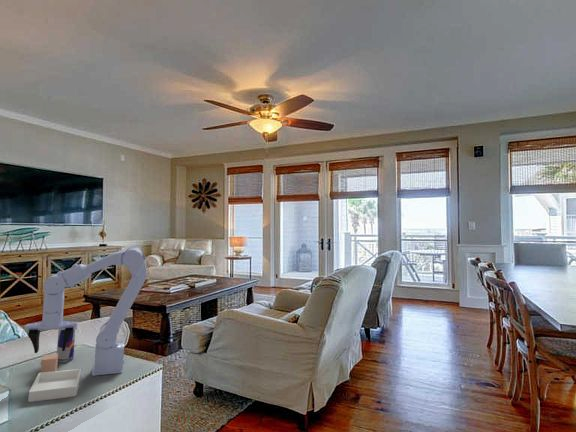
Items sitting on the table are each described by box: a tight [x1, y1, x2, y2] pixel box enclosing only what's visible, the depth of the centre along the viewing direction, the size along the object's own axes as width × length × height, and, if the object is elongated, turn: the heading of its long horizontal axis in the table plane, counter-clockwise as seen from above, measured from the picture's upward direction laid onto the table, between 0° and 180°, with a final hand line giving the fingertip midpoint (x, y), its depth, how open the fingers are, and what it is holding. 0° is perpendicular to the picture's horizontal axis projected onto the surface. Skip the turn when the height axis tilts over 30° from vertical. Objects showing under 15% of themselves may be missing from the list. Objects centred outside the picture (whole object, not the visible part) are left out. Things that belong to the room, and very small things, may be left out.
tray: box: [27, 368, 83, 403], centre depth 109 cm, size 12×12×3 cm
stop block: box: [40, 353, 59, 373], centre depth 118 cm, size 4×4×6 cm
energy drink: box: [56, 329, 77, 363], centre depth 129 cm, size 5×5×12 cm
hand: (50, 350), depth 118 cm, fingers open, 7 cm apart
